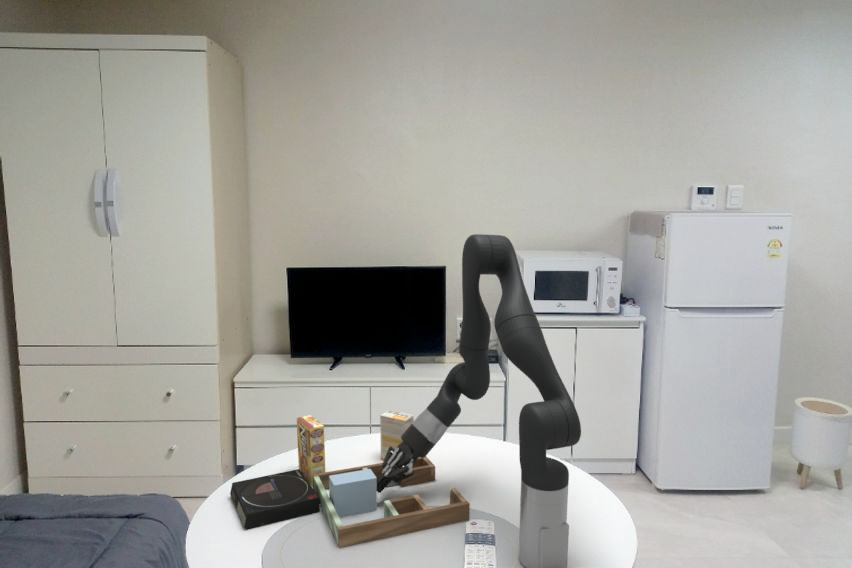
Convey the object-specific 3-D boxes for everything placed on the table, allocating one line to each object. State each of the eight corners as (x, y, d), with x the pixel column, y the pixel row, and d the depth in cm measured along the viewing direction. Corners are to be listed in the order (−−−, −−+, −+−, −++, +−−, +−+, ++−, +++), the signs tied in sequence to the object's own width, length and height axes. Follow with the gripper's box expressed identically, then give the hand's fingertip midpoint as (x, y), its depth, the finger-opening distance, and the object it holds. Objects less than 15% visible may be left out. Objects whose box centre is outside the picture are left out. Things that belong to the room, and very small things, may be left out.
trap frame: (469, 519, 141) (469, 503, 140) (339, 547, 130) (339, 530, 129) (425, 469, 165) (425, 455, 165) (312, 489, 154) (312, 474, 153)
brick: (376, 510, 145) (376, 477, 143) (334, 518, 141) (333, 485, 140) (370, 500, 149) (370, 468, 148) (329, 507, 146) (328, 475, 144)
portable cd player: (230, 498, 150) (229, 483, 150) (299, 483, 158) (299, 468, 158) (244, 532, 136) (243, 515, 135) (319, 513, 144) (319, 497, 143)
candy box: (326, 482, 158) (325, 425, 155) (310, 487, 155) (309, 428, 153) (312, 469, 165) (311, 414, 163) (297, 473, 163) (295, 417, 160)
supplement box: (414, 460, 171) (414, 414, 169) (404, 467, 167) (404, 420, 165) (390, 453, 175) (389, 408, 173) (379, 459, 171) (379, 414, 169)
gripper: (404, 414, 154) (357, 469, 151) (424, 434, 142) (373, 494, 139) (424, 431, 157) (378, 485, 154) (445, 452, 144) (395, 511, 142)
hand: (376, 489), depth 147 cm, fingers closed
